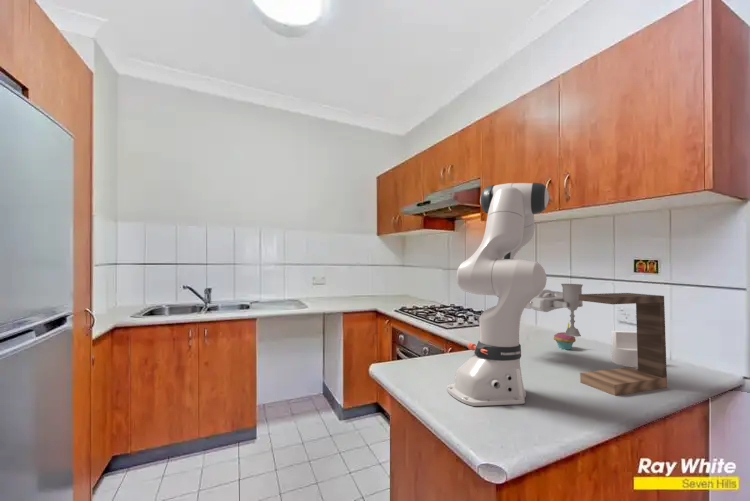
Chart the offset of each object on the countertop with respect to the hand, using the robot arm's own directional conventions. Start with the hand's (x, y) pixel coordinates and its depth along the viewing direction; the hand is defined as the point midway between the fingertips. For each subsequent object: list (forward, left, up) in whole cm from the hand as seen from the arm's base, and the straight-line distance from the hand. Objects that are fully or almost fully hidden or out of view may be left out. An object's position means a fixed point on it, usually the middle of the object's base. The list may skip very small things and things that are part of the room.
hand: (574, 304), depth 117 cm
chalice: (0, +1, -11) cm, 11 cm away
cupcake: (+24, +26, -24) cm, 42 cm away
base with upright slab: (+28, +2, -24) cm, 36 cm away
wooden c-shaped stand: (+3, -14, -23) cm, 28 cm away
